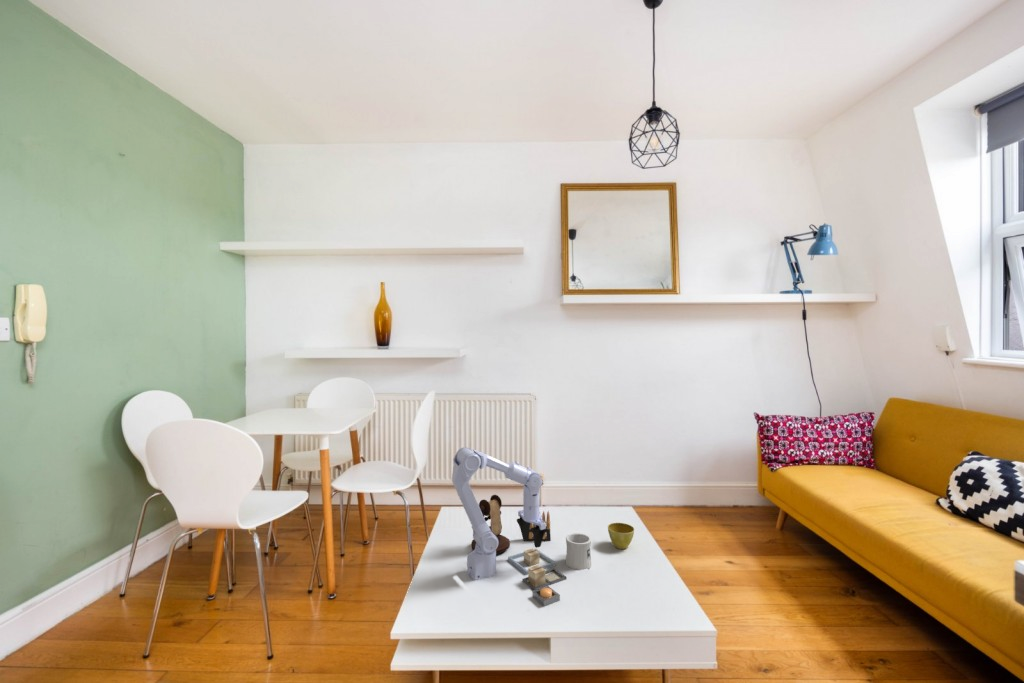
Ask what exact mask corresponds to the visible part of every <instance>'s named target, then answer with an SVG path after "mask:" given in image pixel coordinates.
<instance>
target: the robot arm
mask: <svg viewBox="0 0 1024 683" xmlns="http://www.w3.org/2000/svg"><path fill="white" fill-rule="evenodd" d="M452 461H453V462H452V463H453V468H452V474H451V475H452V477H451V481H452V482H451V483H452V484H453V486H454V489H455V491H456V493H457V495H458V497H459V500H460V502H461V505H462V507H463V509H464V512H465V513H466V515H467V518H468V520H469V522H470V524H471V529H472V538H473V539H474V540H475V541H476V546H475V550H472V551H471V552H469V553H468V554H467V557H466V558H467V560H466V561H467V562H466V564H467V566H466V567H467V569H466V570H467V571H466V572H467V574H468V575H469V576H470V577H471V578H472V580H474V581H478V580H483V579H485V578H491V577H494V576H495V575H496V574H497V554H496V549H497V547H498V538H497V537H496V536H495V535H494V534H493V533H492V532H491V530H490V528H489V526H490V525H488V523H487V521H485V519H484V518H485V515H484V516H483V514H482V512H481V510H480V507H479V503H478V501H477V498H476V496H475V494H474V491H473V489H472V487H471V485H470V480H471V478H472V477H473V476H474V474H475V473H476V472H477V471H478V470H479V469H480V470H482V469H484V468H486V467H487V468H489V469H493V470H495V471H499V472H501V473H503V474H504V476H505V478H506V479H508V480H511V481H513V482H516V483H518V484H521V485H523V487H522V488H523V490H522V491H523V494H522V495H523V497H522V498H523V499H522V500H523V501H522V502H523V503H522V504H523V506H522V507H523V509H521V510H518V511H517V513H518V518H517V519H516V522H517V525H518V526H519V530H520V532H521V533H520V534H521V537H522V539H523V540H524V539H527V538H529V529H530V524H531V523H532V524H534V525H536V527H533V528H531V530H532V533H533V537H534V541H533V543H534V548H535V549H537V548H540V547H541V546H542V542H543V541H542V539H543V536H544V534H545V532H546V530H547V527H546V523H545V522H543V520H542V514H541V510H540V487H542V485H543V479H542V477H541V475H540V474H539V473H537V471H535V470H533V469H532V468H531V467H528V466H527V467H525V466H523V465H521V464H520V462H518V461H515V462H513V461H511V462H508V463H506V462H504V461H503V460H500V459H497V458H495V457H494V456H491V455H489V454H487V453H485V452H481V451H479V450H476V449H471V448H469V447H466V446H465V447H461V448H459V449H458V450H457V451H456V453H455V455H454V457H453V459H452Z"/></svg>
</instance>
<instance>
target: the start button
mask: <svg viewBox="0 0 1024 683" xmlns="http://www.w3.org/2000/svg"><path fill="white" fill-rule="evenodd" d="M551 589H552V588H551ZM551 589H549V588H542V589H541V590H540V596H542V597H543V598H544V599H546V598H548V597H551V596H552V590H551Z"/></svg>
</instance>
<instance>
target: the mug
mask: <svg viewBox="0 0 1024 683" xmlns="http://www.w3.org/2000/svg"><path fill="white" fill-rule="evenodd" d="M565 542H566V556H565V565H566V566H568V567H569V568H570V569H573V570H579V571H581V570H590V569H591V568H592V557H591V545H592V539H591V537H590V536H589V535H587V534H585V533H580V532H573V533H569V534H567V535H566V537H565Z"/></svg>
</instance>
